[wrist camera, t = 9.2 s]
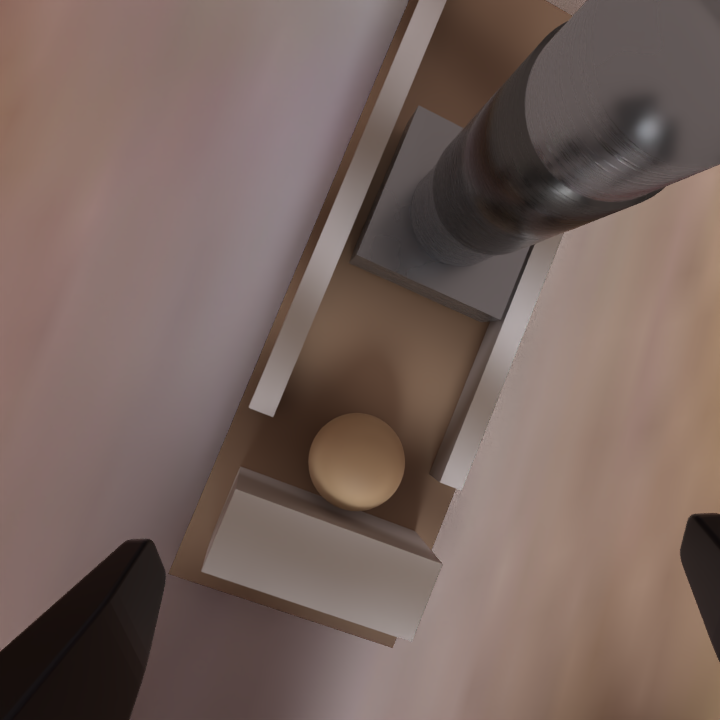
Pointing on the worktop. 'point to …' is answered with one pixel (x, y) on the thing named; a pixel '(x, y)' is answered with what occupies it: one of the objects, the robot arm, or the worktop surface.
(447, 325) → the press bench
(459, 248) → the handle
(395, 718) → the worktop surface
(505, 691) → the worktop surface
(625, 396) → the worktop surface
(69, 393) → the worktop surface
